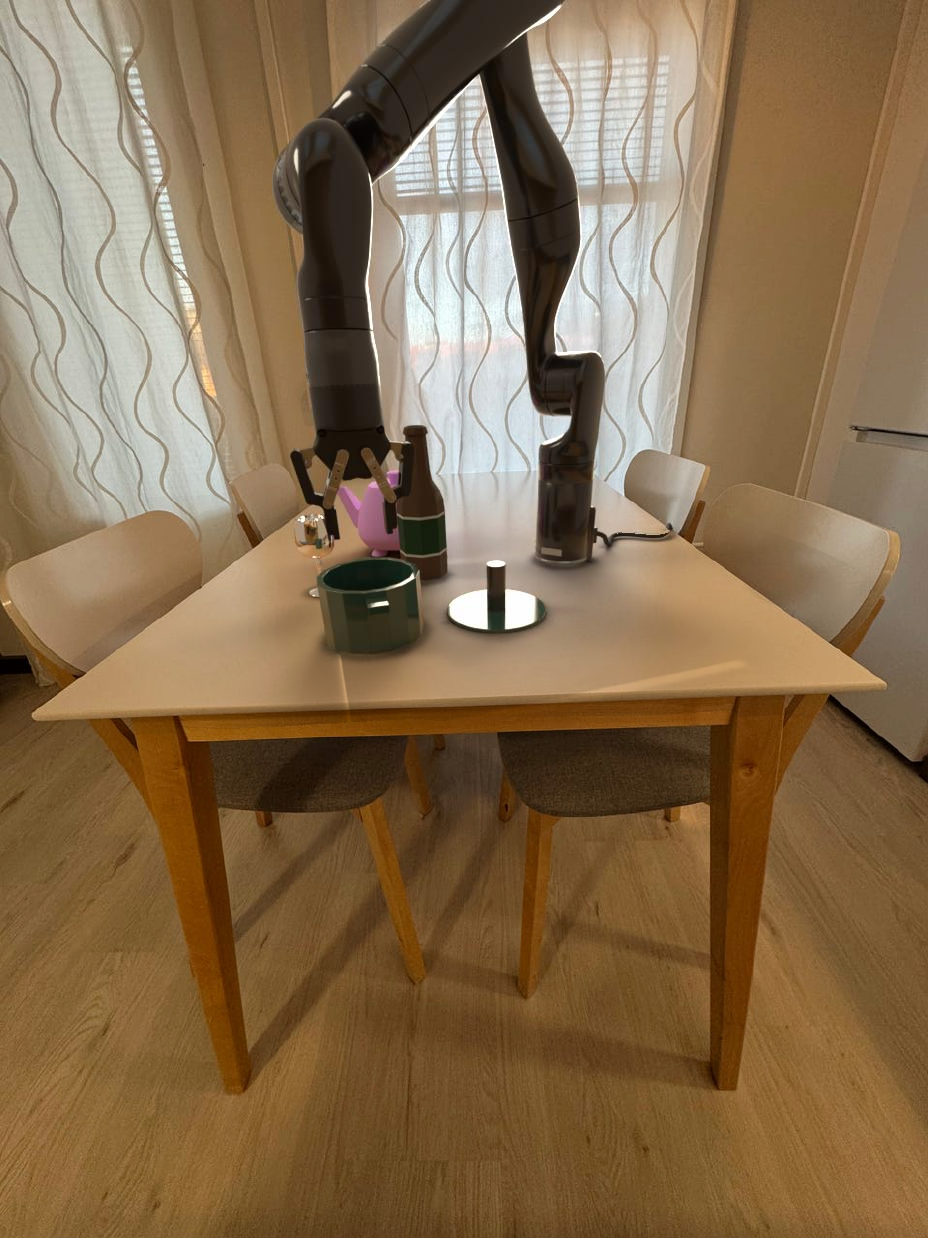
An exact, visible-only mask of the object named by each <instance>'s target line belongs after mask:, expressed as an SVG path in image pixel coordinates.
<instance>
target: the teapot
mask: <svg viewBox="0 0 928 1238" xmlns="http://www.w3.org/2000/svg"><path fill="white" fill-rule="evenodd" d="M398 471H399V469H395V470H388V471H387V472H386V478H387V480H388V482H389V484H390V486H391V488H392V487H394V486H397V484H398ZM337 495H338V497H339V499H340V501H341V503H342V505H343V507H344V509H345V511H346V512H347V514H348V516H349V519H350V520H351V522H352V524H353V526H354V527H355V529H357V533H358V536H359V539H360V540H361V541H362V542H363V543H364V545H366V546H367V547H368V548H369V549H372V550H373V551H372V552H371V557H374V558H381V557H385V556H387V555H388V551H400V543H399V532H398V525H397V528H396V529H393V534H387V533H386V531H385V526H384V516H383V506H382V501H384V497H383V494H382V492H381V491H380V489H379V487H378V485H377V484H376V482H375V480H374V481H372V482H370V483H368V485H367V487H366V489H365V492H364V495H363V497H362V500H361V501H360V500H359V499H358V498H357V496H355V494H354V493H353V492H352V491H351V490H350V489H349V487H348V486H340V487H339V490H338V492H337ZM396 511H397V502H396ZM397 522H398V521H397Z"/></svg>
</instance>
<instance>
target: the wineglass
mask: <svg viewBox="0 0 928 1238" xmlns="http://www.w3.org/2000/svg"><path fill="white" fill-rule="evenodd" d="M294 520H295V521H294V543H295V546H296V549H297V551H298V553H300V555H302V557H305V558H308V559H312V560H316V561H315V568H316V569H317V572H318V575H319V574H320V573H321V572H322V571H323V562H322V561H321V559H324V558H326V557H327V556H329V555H330V554H331V553H332V552H333V550H334V547H335V540H334V536H333V535H331V536H329V534H328V533H327V530H326V523H325V517H324V513H322V514H321V513H311V514H305V515H301V516H298V517H296V518H295V519H294ZM308 594H309V596H311V597H314V598H319V594H318V588H317V587H314V588H312V589H310V590H309V592H308Z"/></svg>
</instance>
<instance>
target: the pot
mask: <svg viewBox="0 0 928 1238" xmlns="http://www.w3.org/2000/svg"><path fill="white" fill-rule="evenodd" d="M315 579H316V588H318V594H319V597H318V599H319V605H320V610H321V617H322V622H323V628H324V633H325V639H326V644H327V645H328V648H330V649H331V650H332V651H334V653H337V654H340V655H341V652H344V653H349V654H352V655H374V654H381V653H386V652H393V651H395V650H398V649H401V648H403V647H406V646H408V645H410V644H411V643H412V642H414V641H416V640H417V639H418V638H419V637H421V635H422V634H423V633H422V632H423V630H424V628H425V624H424V612H423V599H422V597H423V596H422V585H421V580H420V571H419V569H418V568H417V566H416V565H415V564H413V563H410V562H408V561H406V560H401V558H394V557H370V556H365V557H364V556H363V557H357V558H356V557H355V558H353V559H352V560H348V561H343V562H339V563H336V564H333V565H332V566H329V567H327V568H325V569H322V572H321V573H320V574H319V573H318V575H317V576H316V578H315Z"/></svg>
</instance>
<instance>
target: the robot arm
mask: <svg viewBox="0 0 928 1238" xmlns="http://www.w3.org/2000/svg"><path fill="white" fill-rule="evenodd" d="M566 1H567V0H427V1H426V2H425V3H423V4H422V5H421V6H419V7H418V8H417V9H416V10H415V11H414V12H412V13H411V14H410V15H409V16H408V17H406V18H405V19H404V20H403V21H402V22H401V23H399V25H397V27H395V28H394V29H393V30H392V31H391V32H390V33H389V34H388V35H387V36H385V38H384V39H383V40H382V41H381V42H380V43H379V44H378V45H377V46H376V47H375V48H374V49H373V50H372V51H371V52H370V53H369V54H368V56H367V57H366V58H365V59H364V60H363V61H362V62H361V63H360V64H359V66H358V67H356V68H355V70H354V71H353V73H351V75H350V76H349V77H348V79H347V80H346V82H345V83H344V85H343V86H342V88H341V89H340V91H339V92H338V94H337V95H336V97H335V98H334V99H333V101H332V102H331V103H330V104H329V105H328V106H327V107H326V109H325V110H324V111H322V112H321V113H320V114H319V115H318V116H317V117H316V118H315V119H312V120H311V121H309V122H307V123H305V124H304V125H303V126H302V127H301V128H300V129H299V130H298V131H297V132H296V134H295V135H294V136H293V137H292V138H291V140H289V143H287V145H286V146H285V147H283V149H282V151H281V152H280V153H279V154H278V156H277V158H276V160H275V162H274V165H273V169H272V176H271V189H272V196H273V200H274V203H275V205H276V209H277V211H278V213H279V214H280V216H281V218H282V219H283V220H284V221H285V223H286V224H287V225H288V226H289V227H290V228H291V229H292V230H293V231H295V232H296V233H298V234H300V235H302V246H303V253H302V260H301V263H300V265H299V267H298V270H297V273H296V292H297V300H298V301H297V302H298V305H299V312H300V319H301V320H300V321H301V326H302V331H303V353H304V363H305V370H306V371H305V376H306V379H307V384H308V391H309V398H310V403H311V404H310V405H311V410H312V417H313V423H314V431H315V439H314V442H313V444H312V445H311V446H307V447H303V448H297V447H295V448H292V449H291V450H290V454H289V457H290V461H291V464H292V466H293V470H294V473H295V475H296V478H297V481H298V483H299V486H300V487H299V488H300V490H301V492H302V495H303V498H304V501H305V503H306V504H307V505H309V506H318V507H320V508H321V509H322V511H323V515H324V517H325V523H326V530H327V533H328V534H329V536H331V535H333V536H334V541H339V540H341V534H340V527H339V520H338V513H337V508H336V505H335V501H336V498H337V495H338V494H337V492H338V490H339V487H341V483H342V481H344V482H347V481H353V480H355V479H362V480H369V479H373V480H374V481H375V482H376V484H377V485H378V487H379V489H380V491H381V492H382V494H383V497H384V501H382V506H383V516H384V526H385V531H386V533H387V534H393V529H396V528H397V525H398V522H397V511H396V502H397V500H398V499H400V498H402V497H404V496H409V495H410V493H411V484H412V473H413V461H414V446H413V445H412V444H411V443H410V442H407V441H405V440H404V441H394V440H390V438H389V437H388V434H387V433H386V427H385V418H384V417H385V416H384V407H383V399H382V397H383V395H382V385H381V374H380V366H379V364H380V363H379V357H378V351H377V346H376V341H375V336H374V332H373V330H374V328H373V318H372V306H371V298H370V292H369V291H370V290H369V271H370V270H369V269H370V262H371V252H372V250H371V249H372V235H373V220H374V219H373V218H374V217H373V216H374V215H373V211H374V198H373V188H372V186H373V185H374V184H375V183H376V182H377V181H378V180H379V179H380V178H382V177H383V176H384V175H386V174H387V173H388V172H390V171H392V170H393V169H394V168H395V167H396V166H398V165H399V164H400V163H401V162H402V161H403V160H404V159H405V158H406V157H407V156H408V155H409V154H410V152H411V151H412V150H413V149H414V148H415V147H416V146H417V145H418V143H420V141H421V140H422V139H423V137H424V136H426V134H428V132H429V131H430V129H431V128H433V126H434V125H435V124H436V123H437V121H438V120H439V119H440V118H441V117H442V116H443V114H444V113H445V112H446V111H447V110H448V109H449V108H450V106H451V105H452V104H453V103H454V102H455V101H456V99H457V98H458V97H460V96H461V94H462V93H463V92H464V91H465V90H466V88H467V87H469V86H470V84H471V83H472V82H473V81H474V80H475V79H476V78H477V77H479V82H480V86H481V90H482V94H483V98H484V102H485V103H484V104H485V107H486V112H487V116H488V120H489V126H490V131H491V136H492V142H493V147H494V153H495V158H496V165H497V170H498V175H499V181H500V186H501V193H502V199H503V200H502V201H503V208H504V215H505V223H506V228H507V232H508V240H509V245H510V246H509V247H510V251H511V256H512V257H511V258H512V261H513V267H514V272H515V278H516V283H517V290H518V296H519V302H520V303H519V304H520V309H521V310H520V311H521V317H522V325H523V335H524V347H525V358H526V359H525V360H526V370H527V382H528V389H529V396H530V400H531V404H532V406H533V408H534V410H535V412H536V413H537V414H538V415H540V416H543V417H555V418H557V417H558V418H565V417H566V418H570V422H569V426H568V428H567V430H566V431H563V433H562V434H560V435H558V436H556V437H553V438H550V439H547V440H545V441H542V442H541V444H540V445H539V447H538V457H537V459H538V460H537V461H538V462H537V464H538V465H537V493H536V494H537V498H536V500H537V501H536V524H535V525H536V526H535V527H536V528H535V530H536V531H535V548H534V549H535V551H534V558H535V559H536V560H537V561H538V562H541V563H543V564H545V565H546V564H547V565H553V566H574V565H579V564H582V563H585V562H590V561H591V562H592V561H593V551H594V544H597V542H598V541H597V540H598V537H600V538H601V539H602V540H603V544H604V545H605V546H607V547H609V546H611V545H612V543H613V540H614V539H616V538H620V537H629V538H630V537H631V538H638V539H639V538H641V539H662V538H665V537H667V536H668V535H669V534H670V532H668V533H665V534H660V535H646V534H647V533H645V534H635V533H636V532H634V533H622V532H623V531H618V532H614V533H612V534H610V536H608V535H607V534H605V533H604V532H602V531H599V527H598V526H596V525H595V524H596V513H597V509H596V508H597V507H595V506H593V505H592V501H593V488H594V474H595V462H596V461H595V460H596V450H597V445H598V441H599V434H600V424H601V416H602V407H603V401H604V395H605V384H606V383H605V382H606V369H605V368H606V367H605V363H604V360H603V358H602V356H601V354H600V353H599V352H597V351H594V350H585V351H580V350H579V351H566V352H558V349H557V343H556V322H557V316H558V313H559V310H560V306H561V303H562V300H563V297H564V295H565V293H566V290H567V287H568V285H569V283H570V281H571V278H572V275H573V273H574V270H575V267H576V265H577V262H578V259H579V256H580V253H581V252H580V251H581V248H582V221H581V208H580V198H579V189H578V180H577V177H576V173H575V170H574V168H573V166H572V163H571V161H570V158H569V156H568V155H567V151H566V150H565V148H564V146H563V145H562V142H561V141H560V139H559V138H558V135H557V134H556V132H555V131H554V129H553V127H552V125H551V124H550V121H549V120H548V118H547V116H546V113H545V112H544V109H543V106H542V105H541V102H540V100H539V96H538V95H539V94H538V92H537V89H536V84H535V80H534V75H533V73H534V72H533V69H532V68H533V67H532V61H531V54H530V47H529V39H528V38H529V37H528V31H529V30H530V29H532V28H534V27H536V26H539V25H541V24H543V23H545V22H546V21H547V20H549V19H550V18H551V17H553V16H554V15H555V14H556V13H557V12H558V11H559V10H560V9H561V8H562V7H563V6H564V4H565V3H566ZM390 451H392V453H393V457H394V459H395V460H396V461H397V462H398V470H399V471H398V484H397V486H394V487H392V488H391V486H390V484H389V482H388V480H387V478H388V477H387V476H386V475H385V473H384V471H383V469H382V468H381V467H382V465H383V464H384V461H385V460H386V458H387V457H388V455H389V453H390ZM314 457H317V458H318V459H319V460H320V461H321V462H322V463H323V464H324V466H325V467H326V468H327V469H328V473H327V478H326V482H325V486H324V489H323V493H320V492H317V491H315V488H314V485H313V482H312V479H311V476H310V473H309V469H310V468H311V467H312V466H313V458H314ZM666 528H667V529H668V530H670V531H671V530H674V527H673V525H672V523H671V522H667V523H666V525H665V529H666ZM617 533H618V534H617Z"/></svg>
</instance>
